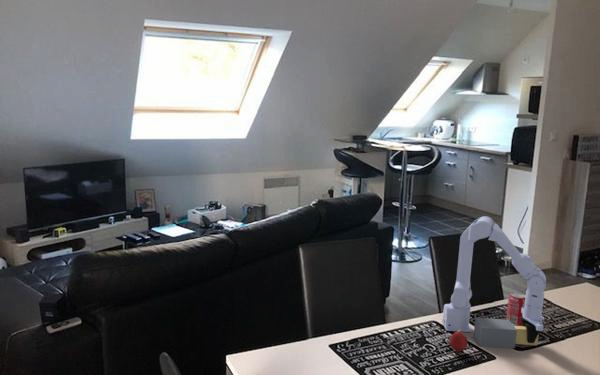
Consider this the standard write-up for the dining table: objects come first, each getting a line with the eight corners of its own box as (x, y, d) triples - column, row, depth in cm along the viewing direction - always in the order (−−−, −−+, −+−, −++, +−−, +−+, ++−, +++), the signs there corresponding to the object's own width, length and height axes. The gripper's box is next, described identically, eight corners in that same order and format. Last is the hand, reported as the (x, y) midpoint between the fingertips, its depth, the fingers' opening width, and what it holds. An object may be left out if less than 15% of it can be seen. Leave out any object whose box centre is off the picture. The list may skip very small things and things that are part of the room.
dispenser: (479, 346, 169) (481, 327, 168) (473, 335, 177) (475, 317, 176) (516, 348, 168) (518, 330, 167) (508, 337, 176) (510, 319, 175)
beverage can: (519, 320, 190) (523, 292, 188) (525, 328, 184) (529, 298, 182) (503, 319, 191) (507, 291, 189) (508, 326, 185) (512, 297, 182)
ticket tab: (491, 342, 171) (492, 327, 170) (489, 339, 174) (490, 324, 173) (537, 345, 170) (539, 330, 169) (534, 342, 173) (536, 327, 172)
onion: (457, 357, 161) (459, 335, 160) (445, 349, 166) (447, 328, 165) (469, 353, 164) (472, 332, 162) (457, 346, 169) (459, 325, 167)
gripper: (554, 314, 162) (549, 351, 164) (536, 297, 176) (532, 331, 178) (532, 313, 162) (528, 350, 165) (517, 296, 176) (513, 330, 179)
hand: (529, 340), depth 171 cm, fingers closed on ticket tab, 2 cm apart
